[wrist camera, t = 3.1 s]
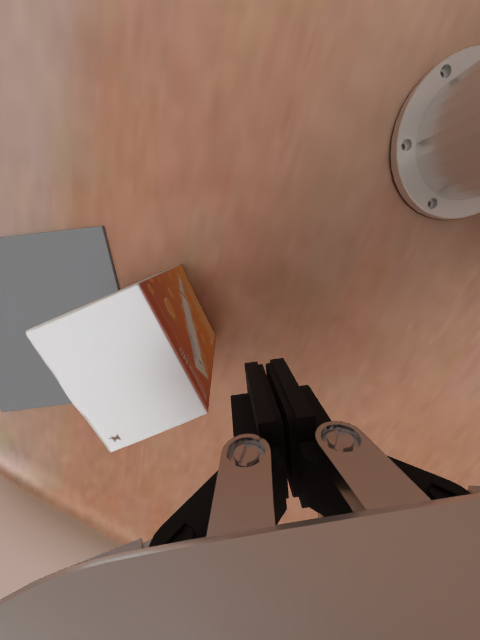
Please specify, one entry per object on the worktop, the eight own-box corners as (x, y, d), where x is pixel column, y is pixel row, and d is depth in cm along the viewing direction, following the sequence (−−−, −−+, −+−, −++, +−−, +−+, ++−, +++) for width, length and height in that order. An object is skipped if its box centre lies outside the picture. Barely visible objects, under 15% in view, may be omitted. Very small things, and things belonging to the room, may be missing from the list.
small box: (217, 335, 27) (211, 416, 14) (161, 358, 27) (108, 457, 15) (181, 261, 24) (137, 281, 12) (121, 287, 25) (17, 334, 12)
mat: (103, 226, 23) (101, 226, 23) (145, 391, 28) (144, 394, 28) (-68, 245, 23) (-73, 245, 22) (4, 409, 28) (1, 412, 27)
